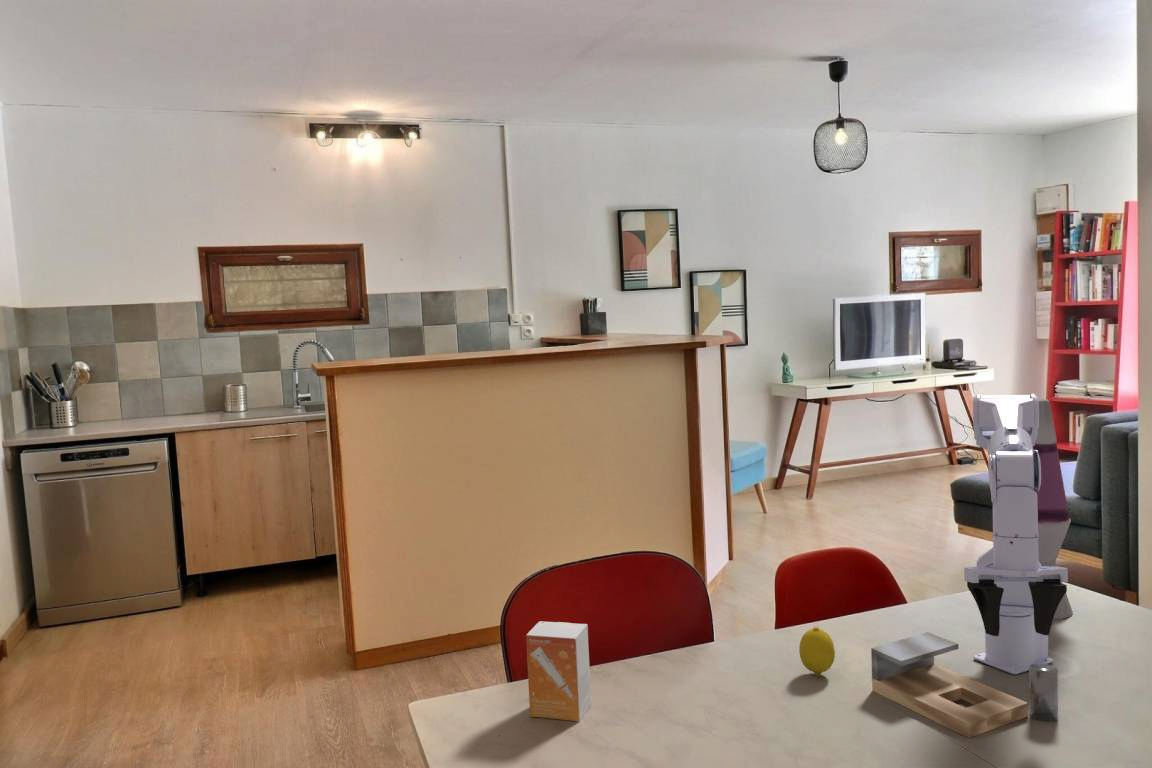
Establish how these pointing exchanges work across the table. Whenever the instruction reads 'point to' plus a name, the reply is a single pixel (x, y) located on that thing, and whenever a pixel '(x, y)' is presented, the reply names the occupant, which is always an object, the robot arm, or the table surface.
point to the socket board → (940, 687)
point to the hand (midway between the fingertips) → (1017, 634)
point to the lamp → (1051, 499)
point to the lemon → (817, 650)
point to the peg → (1043, 692)
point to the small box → (558, 670)
